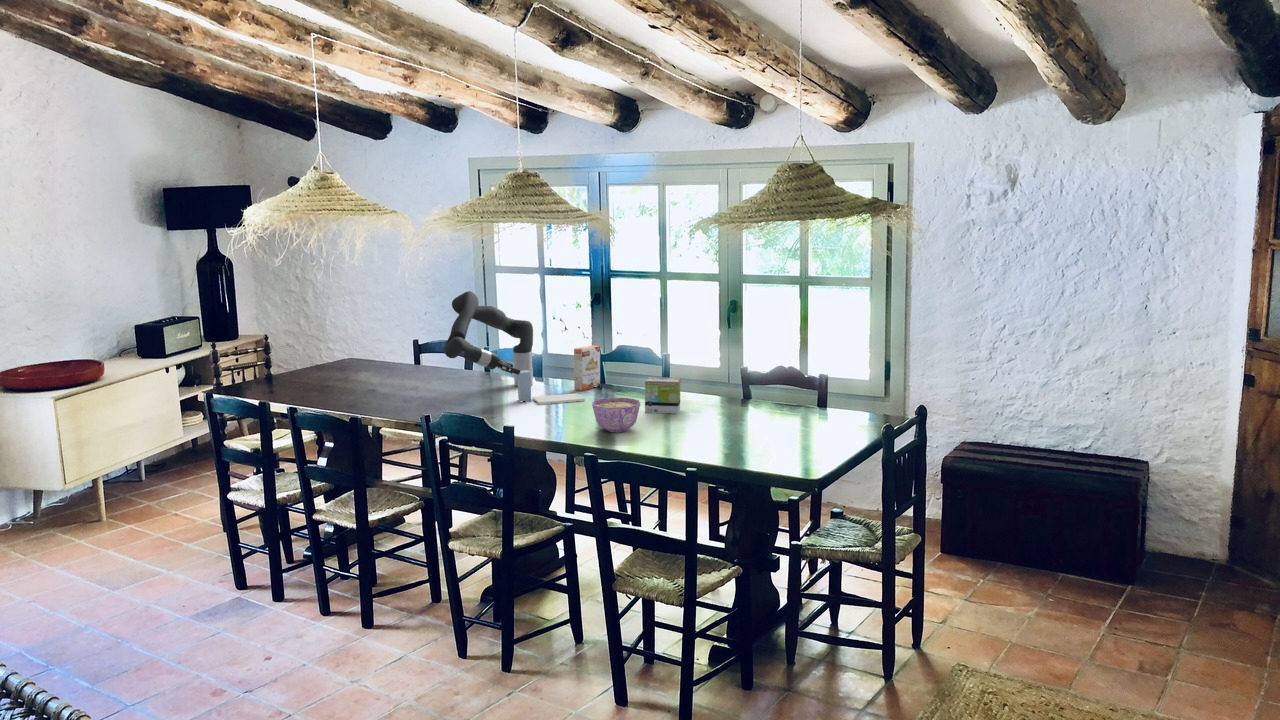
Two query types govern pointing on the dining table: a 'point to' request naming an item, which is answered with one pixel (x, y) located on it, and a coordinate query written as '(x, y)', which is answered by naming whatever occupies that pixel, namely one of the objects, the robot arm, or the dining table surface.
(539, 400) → the cream tile
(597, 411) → the bowl of food
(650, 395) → the tea box
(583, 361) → the cracker box
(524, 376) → the blue block
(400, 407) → the dining table surface
